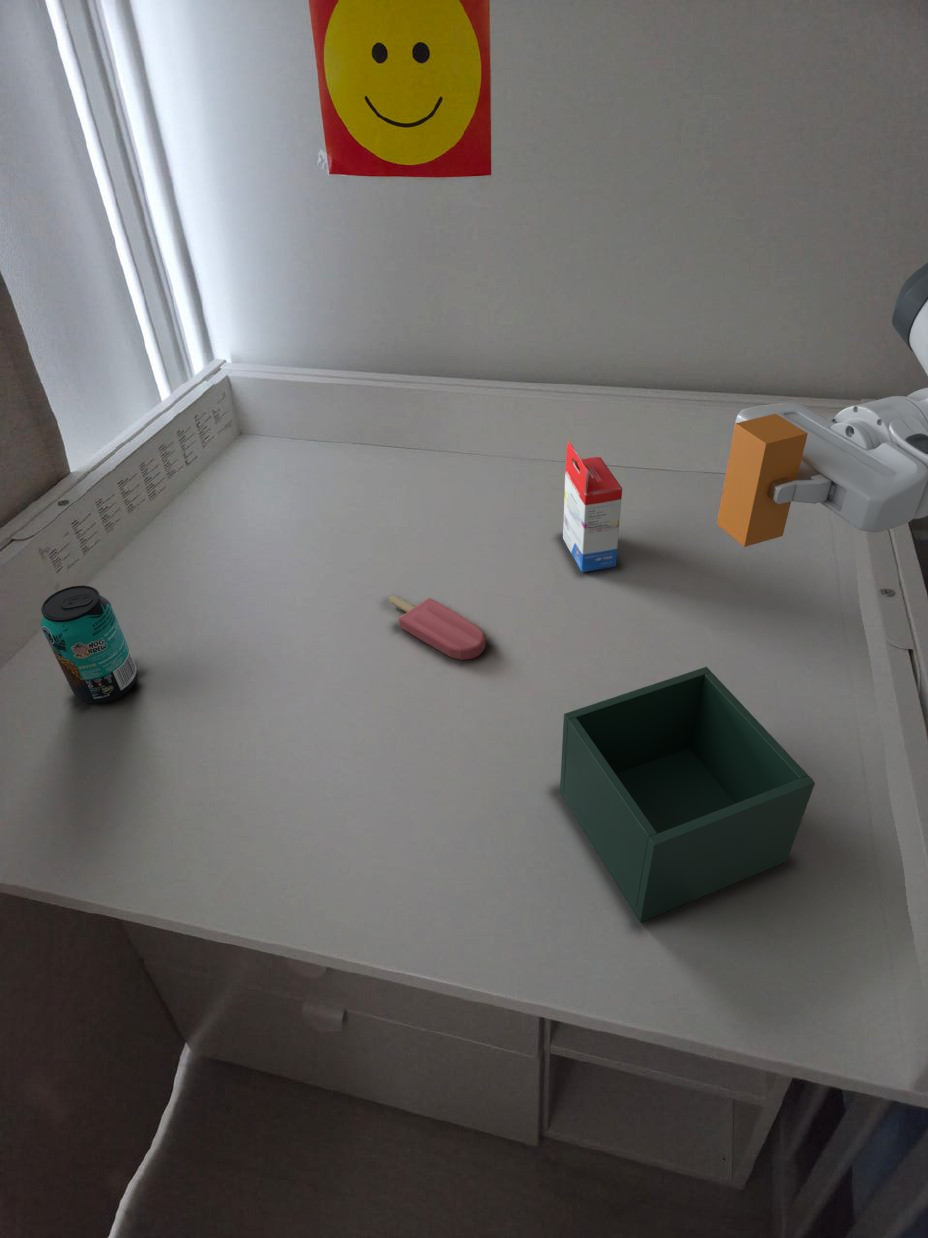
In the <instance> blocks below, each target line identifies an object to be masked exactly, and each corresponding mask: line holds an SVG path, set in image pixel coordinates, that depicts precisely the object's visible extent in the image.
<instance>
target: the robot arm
mask: <svg viewBox="0 0 928 1238" xmlns="http://www.w3.org/2000/svg"><path fill="white" fill-rule="evenodd" d="M891 324H892V327H893V328H894V330H895V331H896V332H897V333H898V335H899V337H900V338H901V339H902V341H904V343H905V345H906V346H907V347H908V349H909V350H910V351H911V352H912V353H914V355H915V357H916V358H917V361H918V362H919V364H920V365H921V367H922V369H923V371H924V373H925V374H926V376H928V262H926V263H925V264H924V265H923V266H921V267H920V268H918V269H917V270H916V271H915V272H913V273H912V274H911V275H910V276H909V277H908V278H907V279H906V280H905V281H904V282H903V284H902V286H901V288H900V290H899V293H898V295H897V297H896V301H895V305H894V308H893V312H892V316H891ZM772 414H777V415H779V416H780V417H782V418H784V419H785V420H787V421H789V422H790V423H792V424H794V425H795V426H797V427H798V428H800V429H802V430H803V431H805V432H807V433H808V435H807V439H806V443H805V447H804V451H803V456H802V460H801V464H800V468H799V472H798V476H797V480H796V481H791V480H789V479H788V478H786V477H785V478H781V479H779V480H774V481H772V482H771V483H770V485H769V491H768V493H767V496H768V497H769V498H771V499H772V500H773V501H774V502H776V503H777V504H782V503H786V502H790V501H791V502H793V503H804V504H813V505H815V504H821V505H822V506H824V507H825V508H827V509H828V510H829V511H831V512H833V513H834V514H835V515H837V516H839V517H840V518H841V519H843V520H844V521H845V522H847V523H849V524H850V525H851V526H853V527H854V528H856V529H857V530H859V531H861V532H862V531H863V532H869V533H881V532H885V531H888V530H892V529H895V528H898V527H901V526H903V525H906V524H907V523H910V522H911V521H913V520H919V519H922V518H926V517H928V387H924V388H921V389H918V390H915V391H913V392H911V393H910V394H908V395H906V396H905V395H904V396H903V395H893V396H887V397H884V398H879V399H876V400H871V401H867V402H864V403H860V404H855V405H850V406H847V407H845V408H843V409H842V410H840V411H839V412H838V413H836V415H835V416H834V417H833V419H832V420H831V419H830V418H828V417H826V416H824V415H823V414H821V413H819V412H817V411H815V410H813V409H812V408H810V407H808V406H806V405H804V404H802V403H798V402H778V403H769V404H763V405H757V406H756V405H755V406H750V407H747V408H746V407H745V408H743V409H741V410H740V411H739V412H738V414H737V416H736V418H735V421H734V422H735V423H738V422H743V421H747V420H751V419H755V418H759V417H763V416H767V415H772ZM735 423H734V424H735ZM734 427H735V425H734ZM734 427H733V428H734Z"/></svg>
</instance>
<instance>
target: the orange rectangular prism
mask: <svg viewBox="0 0 928 1238" xmlns="http://www.w3.org/2000/svg"><path fill="white" fill-rule="evenodd" d="M734 426H735V427H733V434H732V439H731V445H730V449H729V456H728V462H727V465H726V472H725V477H724V481H723V488H722V493H721V499H720V505H719V509H718V516H717V519H716V520H717V521H716V526H718V527H719V528H720V529H722V530H723V531H725V533H727V534H728V535H729V536H730V537H731V538H733V539H734V540H735V541H736V542H737V543H738V544H740V545H741V546H742V547H743V548H746V547H750V546H753V545H757V544H760V543H764V542H767V541H771V540H774V539H777V538H781V537H784V533H785V529H786V524H787V521H788V516H789V512H790V508H791V504H792V501H790V502H786V503H782V504H777V503H776V502H774V501H773V500H772V499H771V498H769V497H768V496H767V493H768V491H769V485H770V483H771V482H772V481H774V480H779V479H781V478H785V477H786V478H788V479H789V480H791V481H796V480H797V476H798V472H799V468H800V464H801V460H802V456H803V451H804V447H805V443H806V439H807V435H808V433H807V432H805V431H803V430H802V429H800V428H798V427H797V426H795V425H794V424H792V423H790V422H789V421H787V420H785V419H784V418H782V417H780V416H779V415H777V414H772V415H767V416H763V417H759V418H755V419H751V420H747V421H743V422H738V423H734Z"/></svg>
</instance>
